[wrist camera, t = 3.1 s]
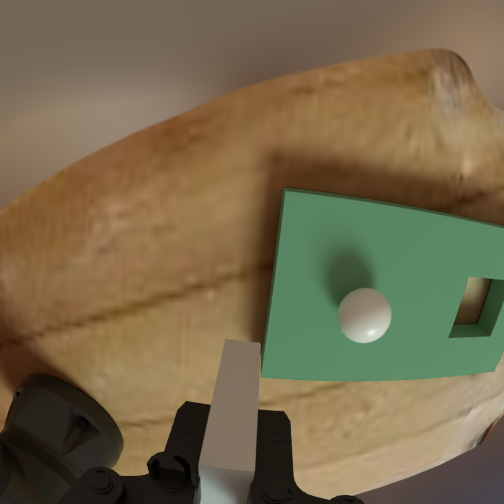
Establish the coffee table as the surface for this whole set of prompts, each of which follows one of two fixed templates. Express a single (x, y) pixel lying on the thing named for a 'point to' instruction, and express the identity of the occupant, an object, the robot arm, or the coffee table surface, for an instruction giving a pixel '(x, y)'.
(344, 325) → the ball
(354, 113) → the coffee table surface
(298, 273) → the green
